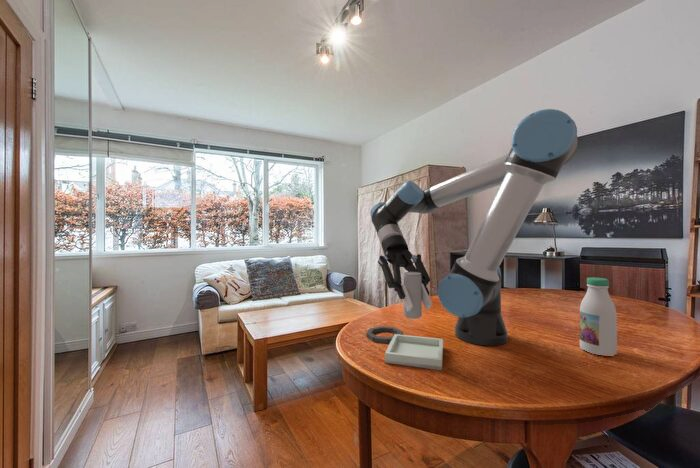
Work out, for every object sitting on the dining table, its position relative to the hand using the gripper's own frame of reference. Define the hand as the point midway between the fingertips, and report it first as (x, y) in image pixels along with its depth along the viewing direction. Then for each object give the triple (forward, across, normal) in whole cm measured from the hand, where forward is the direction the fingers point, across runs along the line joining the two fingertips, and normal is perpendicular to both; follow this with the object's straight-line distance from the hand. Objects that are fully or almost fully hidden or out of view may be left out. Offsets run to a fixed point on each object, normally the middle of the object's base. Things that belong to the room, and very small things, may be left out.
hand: (419, 307), depth 76 cm
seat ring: (-3, +2, -23) cm, 23 cm away
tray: (+8, 0, -12) cm, 14 cm away
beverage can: (0, 0, -5) cm, 5 cm away
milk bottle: (+17, -48, -2) cm, 51 cm away
